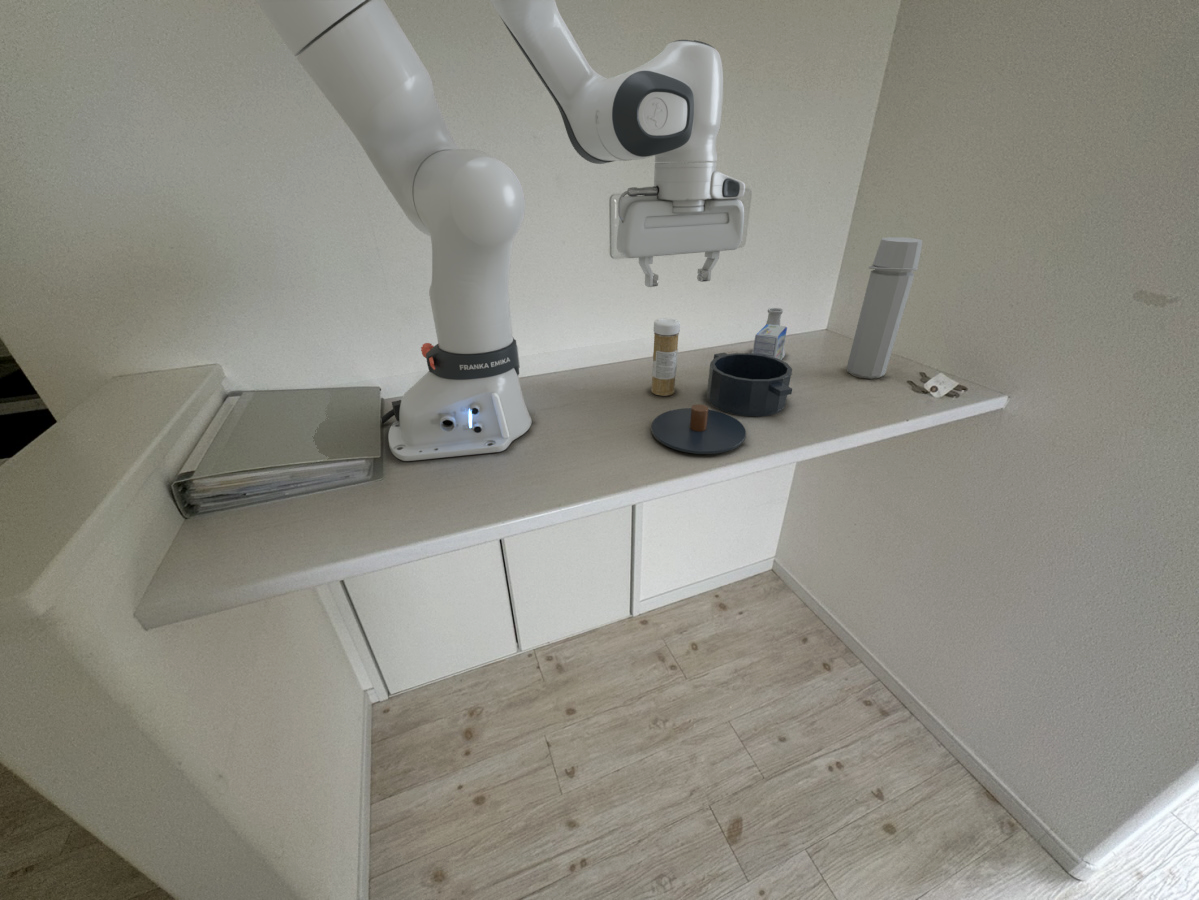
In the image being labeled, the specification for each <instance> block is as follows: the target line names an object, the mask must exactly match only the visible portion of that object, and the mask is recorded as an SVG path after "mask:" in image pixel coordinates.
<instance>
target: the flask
mask: <svg viewBox="0 0 1199 900" xmlns="http://www.w3.org/2000/svg"><path fill="white" fill-rule="evenodd" d="M783 312H784V309H782V308H780V307H768V308H767V313H768V316H767V321H766V322H765V325H779V326H781V317H782V314H783ZM751 353H752V354H753V350H752V351H751ZM785 356H786V351H785V348H784V349H783V355H782V359H785Z"/></svg>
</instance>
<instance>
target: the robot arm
mask: <svg viewBox="0 0 1199 900" xmlns="http://www.w3.org/2000/svg"><path fill="white" fill-rule="evenodd" d="M255 1H256V3H257V4H258V6H259V7H260V8H261V10H262V12H263V13H264V15H265V16H266V18H267V20H268V21H269V22H270V24H271V25H272V27H273V28H274V29H275V31H276V32H277V34H278V35H279V37H280V38H281V40H282V41H283V42H284V44H285V45H286V46H287V48H288V49H289V51H290V52H291V53H292V54H293V56H294V57H295V58H296V60H297V61H298V62H299V64H300V65H301V67H302V68H303V69H304V71H305V72H306V73H307V74H308V76H309V77H310V78H311V79H312V81H313V82H314V84H315V86H317V88H318V89H319V91H320V92H321V93H322V94H323V96H324V97H325V98H326V100H327V101H328V102H329V103H330V104H331V106H332V108H334V110H335V112H336V113H337V115H339V116H340V118H341V119H342V120H343V122H344V123H345V125H346V126H347V127H348V128H349V130H350V131H351V133H352V134H353V136H354V137H355V138H356V140H357V141H358V143H359V144H360V146H361V148H362V149H363V150H364V152H365V154H366V156H367V157H368V159H369V161H370V162H371V164H372V166H373V167H374V169H375V170H376V172H377V174H378V175H379V177H380V179H381V180H382V181H383V183H384V185H385V186H386V187H387V189H388V190H389V192H390V193H391V195H392V197H393V198H394V200H395V201H396V202H397V204H398V205H399V206H400V208H401V210H402V212H403V213H404V215H405V216H406V218H407V219H408V220H409V221H410V223H411V224H412V225H413V226H414V227H415V228H416V229H417V230H418V231H420V232H421V233H423V234H424V235H426V236H429V237H430V243H431V282H430V286H429V291H428V294H429V295H428V296H429V300H430V301H429V302H430V307H431V312H432V317H433V323H434V329H435V334H436V340H437V344H435V345H432V343H430V342H425V343H423V344H422V345H421V347H420V351H421V354H422V356H423V358H425V359H426V360H425V361H426V364H427V369H428V371H427V372H426V373H425V374H423V376H422V377H421V378H419V380H417V381H416V382H415V383H414V384H413V385H412V386H411V387H410V388H408V389H407V391H405V393H404V394H403V396H402V397H401V399H399V400H394V401H391V406H392V409H391V410H389V411H387V413H384V415H383V416H381V418H382V423H381V424H382V425H384V424H386V422H388V421H389V420H390V419H392V417H394V418H395V419H396V420H395V421H393V423H392V424H391V426H390V428H389V429H388V435H387V437H388V438H387V439H388V445H389V450H390V452H391V453H392V455H393V456H394V457H395V458H397V459H398V460H400V461H402V462H411V461H412V462H413V461H424V460H432V459H443V458H444V459H445V458H453V457H462V456H473V455H482V454H492V453H500V452H503V451H505V450H506V449H508V448H509V447H510V445H511V444H512V442H514V441H515V440H516V439H518V438H520V437H521V436H523V435H524V434H526V433H527V431H528V430H529V429H531V426H532V417H531V415H530V413H529V410H528V408H527V405H526V402H525V398H524V395H523V390H522V387H521V383H520V377H519V376H520V356H519V355H520V354H519V347H518V345H517V340H516V339H515V337H514V335H513V333H514V332H513V324H512V314H511V313H512V312H511V301H510V300H511V299H510V274H511V262H512V256H513V255H512V254H513V247H514V240H515V237H516V235H517V233H518V232H519V230H520V228H521V227H522V224H523V222H524V218H525V214H526V198H525V193H524V189H523V186H522V184H521V181H520V180H519V178H518V176H517V175H516V173H515V172H514V171H513V170H512V168H510V167H509V166H508V165H507V164H506V163H505V162H503V161H502V160H500V159H498V158H497V157H496V156H493V155H491V154H489V153H487V152H485V151H483V150H480V149H475V148H461V147H460V146H459V145H458V144H457V143H456V141H455V140H454V137H453V136H452V133H451V132H450V129H449V127H448V124H447V123H446V120H445V117H444V115H443V113H442V111H441V108H440V105H439V104H438V103H439V102H438V100H437V98H436V94H435V90H434V84H433V80H432V77H431V75H430V72H429V71H428V69H427V68H426V66H425V64H424V63H423V61H422V60H421V58H420V57H419V55H418V53H417V51H416V50H415V48H414V47H413V45H412V43H411V41H410V40H409V39H408V37H407V35H406V33H405V32H404V30H403V29H402V27H401V26H400V24H399V22H398V20H397V19H396V16H395V15H394V14H393V12H392V11H391V9H390V7H389V6H388V4H387V3H386V1H385V0H255ZM489 3H491V5H492V7H493V8H494V10H495V11H496V13H497V14H498V16H499V17H500V19H501V21H502V22H503V24H504V26H505V28H506V29H507V32H508V33H509V34H510V36H511V38H512V39H513V40H514V43H515V44H516V45H517V47H518V48H519V50H520V51H521V52H522V54H523V56H524V58H526V60H527V62H528V63H529V65H530V66H531V68H532V69H533V70H534V72H535V74H536V75H537V76H538V79H539V80H540V81H541V83H542V85H543V86H544V88H546V91H547V92H548V93H549V95H550V96H551V98H552V99H553V101H554V102H555V104H556V106H557V108H558V110H559V113H560V115H561V116H560V117H561V118H562V121H563V125H564V127H565V132H566V134H567V137H568V139H569V142H570V144H571V146H572V147H573V149H574V150H575V151H576V153H577V154H578V155H579V156H580V157H581V158H583V159H584V160H585V161H587V162H589V163H592V164H596V165H604V164H609V163H613V162H621V161H623V162H624V161H625V162H626V161H640V160H646V159H650V158H652V157H654V173H653V174H654V176H653V185H652V186H644V187H643V186H642V187H638V186H637V187H636V186H632V187H629V188H627V189H626V191H624V192H622V193H621V194H620V196H619V198H618V202H617V215H618V218H619V219H618V226H617V234H616V250H617V251H618V253H619V255H621V257H624V258H627V259H637V258H638V264H639V266H640V269H641V270H642V273H643V274H644V285H645V287H646V288H655V287H658V286H659V282H658V281H659V274H657V273H654V272H653V270H652V268H651V265H653V263H654V257H662V256H675V255H686V254H689V255H690V254H698V253H699V254H701V253H704V257H705V258H706V259H705V262H704V263H703V264H702V268H697V276H696V278H697V279H696V280H697V281H698V282H700V283H703V282H704V283H705V282H710V281H711V277H712V270H713V269H714V268H715V266H716V265H717V263H718V261H719V259H720V252H723V251H735V250H737V249H738V248H739V246H740V245H741V243H742V241H743V237H744V226H745V206H744V203H743V201H742V200H740V199H742V198H744V197H745V196H744V195H745V193H746V183H745V182H744V181H742V180H739V179H737V178H735V177H732V176H730V175H727V174H725V173H723V172H720V171H719V170H717V169H718V153H717V139H718V135H719V131H720V128H721V124H722V115H723V105H724V102H723V101H724V68H723V61H722V56H721V55H720V52H719V51H718V50H717V49H716V48H715V46H712V45H710V44H709V43H706V42H704V41H701V40H696V39H695V40H692V39H677V40H674V41H670V42H668V43H667V44H666V45H665V47H664V49H662V51H661V52H660V53H658V54H657V55H655V57H653V58H652V59H650V60H649V61H647V62H645V63H643V64H642V65H639V66H637V67H635V68H633V69H631V70H629V71H627V72H623V73H620V74H618V75H616V76H612V77H605V76H603V75H601V74H600V73H598V72H596V71H595V70H594V69H593V68H592V66H591V65H590V64H589V61H588V60H587V59H586V57H585V55H584V53H583V52H582V51H583V50H581V48H580V47H579V44H578V42H577V40H576V39H575V37H574V36H573V34H572V32H571V31H570V29H569V27H568V25H567V24H566V22H565V20H564V19H563V17H562V15H561V13H560V11H559V8H558V5H557V3H556V0H489ZM626 195H627V196H626Z"/></svg>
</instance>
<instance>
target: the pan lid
mask: <svg viewBox="0 0 1199 900" xmlns="http://www.w3.org/2000/svg"><path fill="white" fill-rule="evenodd" d="M650 429H651V433H652V435H653V437H654V438H655V439H656V440H657V441H658V442H659V443H661V444H662V445H664V446H666V447H668V448H670V449H673V450H675V451H679V452H684V453H689V454H697V455H715V454H721V453H726V452H729V451H732V450H734V449H737V448H738V447H740V446H741V445H742V444H743V443H744V442H745V439H746V436H747V431H746V428H745V427H744V424H743V423H742V422H740V421H739V420H738V419H736V418H735V417H733V416H731V415H729V414H728V413H725V412H722V411H718V410H714V409H709V407H708V406H707V405H705V404H700V403H697V404H693V405H691V407H682V408H677V409H672V410H668V411H665V412H663V413H661V414H659V415H658V416H656V417H655V418H654V419H653V421H652V423H651V428H650Z"/></svg>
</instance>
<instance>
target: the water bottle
mask: <svg viewBox="0 0 1199 900" xmlns="http://www.w3.org/2000/svg"><path fill="white" fill-rule="evenodd" d="M923 242H924V241H923V239H920V238H914V237H899V236H897V237H896V236H894V237H893V236H889V237H887V236H886V237H882V238H881V239H880V242H879V244H878V248H877V250H876V253H875V256H874V259H873V261H872V264H871V265H870V266H868V269H870V273H869V277H868V282H867V285H866V289H865V293H864V298H863V302H862V306H861V310H860V314H859V318H858V322H857V324H856V329H855V333H854V338H853V341H852V345H851V348H850V352H849V357H848V360H847V364H846V371H847V373H849V374H851V376H855V377H857V378H860V379H867V380H868V379H869V380H872V379H874V380H875V379H879V378H882V377H884V376H885V375H886V372H887V370H888V366H889V362H890V360H891V356H892V353H893V349H894V346H895V343H896V339H897V335H898V333H899V329H900V325H901V322H902V319H903V316H904V311H905V308H906V305H907V302H908V300H909V299H908V298H909V295H910V292H911V290H912V289H911V288H912V285H913V283H914V278H915V273H914V272H916V271H918V270H919V263H920V259H921V253H922V247H923Z"/></svg>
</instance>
